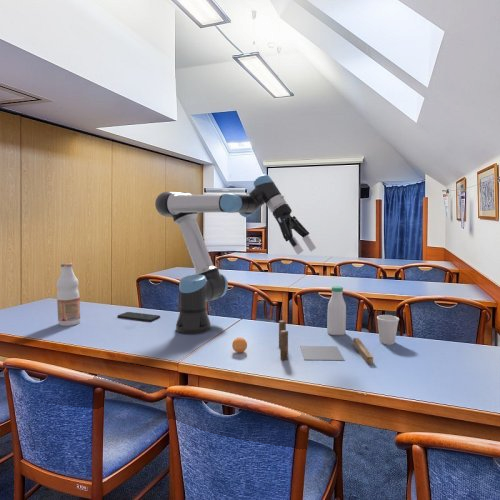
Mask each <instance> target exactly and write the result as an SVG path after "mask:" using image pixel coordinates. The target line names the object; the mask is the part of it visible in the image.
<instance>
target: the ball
mask: <svg viewBox="0 0 500 500" xmlns="http://www.w3.org/2000/svg"><path fill="white" fill-rule="evenodd" d="M231 344H232V345H231V346H232V349H233V351H234V352H235V353H238V354H239V353H240V354H241V353H244V352H245V351H246V350H247V348H248V342H247V340H246V339H245V338H243V337H240V336H239V337H236V338H235V339H233V340H232V343H231Z"/></svg>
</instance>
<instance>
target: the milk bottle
mask: <svg viewBox="0 0 500 500" xmlns="http://www.w3.org/2000/svg"><path fill="white" fill-rule="evenodd" d="M343 292H344V287H342V286H338V285H337V286H332V287H331V297H330V299H329V301H328V304H327V315H326V316H327V318H326V319H327V320H326V323H327V324H326V325H327V327H326V332H327V334H329V335H331V336H344V335H345V334H346V332H347V331H346V329H347V328H346V327H347V306H346V305H347V304H346V301H345V300H344V297H343V294H344V293H343Z"/></svg>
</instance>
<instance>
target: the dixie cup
mask: <svg viewBox="0 0 500 500" xmlns="http://www.w3.org/2000/svg"><path fill="white" fill-rule="evenodd" d="M376 319H377V328H378V329H377V330H378V340H379V343H380V344H383V345H389V346H390V345H391V346H392V345H394V344H395V342H396V337H397V331H398V325H399V321H400V318H399V317H397V316H395V315H391V314H381V315H377V316H376Z"/></svg>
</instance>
